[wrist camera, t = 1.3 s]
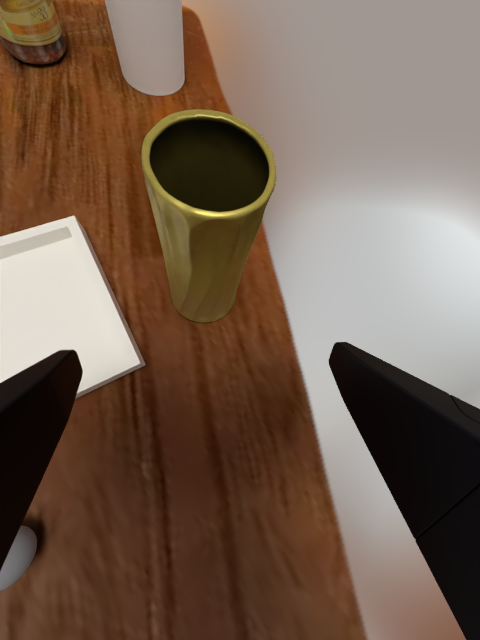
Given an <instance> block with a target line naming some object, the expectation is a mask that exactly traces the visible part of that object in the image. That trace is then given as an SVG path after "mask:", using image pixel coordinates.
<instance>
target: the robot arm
mask: <svg viewBox="0 0 480 640" xmlns="http://www.w3.org/2000/svg"><path fill="white" fill-rule="evenodd" d="M329 365H330V368H331V371H332V373H333V376H334V378H335V381H336V383H337V386H338V388H339V391H340V394H341V396H342V398H343V400H344V403H345V404H346V407H347V409H348V411H349V412H350V414H351V416H352V418H353V420H354V422H355V424H356V426H357V428H358V430H359V432H360V434H361V436H362V438H363V439H364V442H365V443H366V445H367V447H368V449H369V451H370V453H371V455H372V457H373V459H374V461H375V463H376V465H377V467H378V469H379V471H380V473H381V474H382V476H383V478H384V480H385V482H386V484H387V486H388V488H389V490H390V491H391V494H392V496H393V498H394V500H395V502H396V504H397V505H398V508H399V509H400V511H401V513H402V515H403V517H404V519H405V521H406V523H407V525H408V527H409V529H410V531H411V533H412V535H413V537H414V538H415V539H416V543H417V545H418V547H419V549H420V550H421V553H422V554H423V556H424V558H425V560H426V562H427V564H428V566H429V568H430V570H431V572H432V574H433V576H434V578H435V580H436V582H437V584H438V586H439V587H440V589H441V591H442V593H443V595H444V597H445V599H446V601H447V603H448V605H449V607H450V609H451V611H452V613H453V615H454V617H455V619H456V620H457V622H458V624H459V626H460V628H461V630H462V632H463V634H464V636H465V638H466V640H480V409H478V408H476V407H474V406H472V405H470V404H468V403H466V402H464V401H462V400H460V399H458V398H456V397H454V396H452V395H449V394H448V393H446V392H444V391H442V390H440V389H438V388H436V387H434V386H432V385H430V384H428V383H426V382H424V381H422V380H421V379H419V378H417V377H415V376H413V375H411V374H409V373H407V372H405V371H402V370H401V369H399V368H397V367H395V366H392V365H391V364H389V363H387V362H385V361H383V360H381V359H379V358H377V357H375V356H373V355H371V354H369V353H367V352H365V351H363V350H361V349H359V348H357V347H355V346H353V345H351V344H349V343H347V342H337V343H335V344H334V346H333V349H332V352H331V355H330V358H329ZM82 375H83V369H82V366H81V363H80V360H79V357H78V354H77V352H76V351H75V350H59V351H57V352H55V353H53V354H52V355H50V356H48V357H46V358H44V359H43V360H41V361H39V362H37V363H35V364H34V365H32V366H30V367H28V368H26V369H24V370H23V371H21V372H19V373H17V374H15V375H14V376H12V377H10V378H8V379H6V380H5V381H3V382H1V383H0V571H1V569H2V567H3V564H4V562H5V560H6V558H7V555H8V553H9V551H10V549H11V547H12V544H13V542H14V540H15V538H16V535H17V533H18V531H19V529H20V527H21V524H22V522H23V520H24V518H25V515H26V513H27V511H28V509H29V507H30V504H31V502H32V500H33V498H34V495H35V493H36V491H37V489H38V487H39V484H40V482H41V480H42V478H43V475H44V473H45V471H46V469H47V467H48V464H49V462H50V460H51V458H52V455H53V453H54V451H55V449H56V447H57V444H58V442H59V440H60V438H61V435H62V433H63V431H64V429H65V426H66V424H67V422H68V419H69V416H70V413H71V410H72V407H73V404H74V401H75V398H76V395H77V391H78V388H79V385H80V382H81V379H82Z"/></svg>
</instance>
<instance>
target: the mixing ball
mask: <svg viewBox="0 0 480 640" xmlns="http://www.w3.org/2000/svg"><path fill="white" fill-rule="evenodd" d="M36 548H37V538H36V535H35V533H34V532H33V530H32V529H30V528H29V527H26V526H21V527H20V529H19V531H18V533H17V535H16V538H15V540H14V542H13V544H12V547H11V549H10V551H9V553H8V555H7V558H6V560H5V562H4V564H3V567H2V569H1V571H0V591H1V590H3V589H5V588H7V587H9V586H10V585H11V584H13V583H14V582H15V581H17V580H18V579H19V578H20V577H21V576H22V575H23V573H24V572H25V571H26V570H27V568H28V567H29V565H30V564H31V562H32V560H33V558H34V555H35V553H36Z"/></svg>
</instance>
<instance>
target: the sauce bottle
mask: <svg viewBox="0 0 480 640" xmlns="http://www.w3.org/2000/svg"><path fill="white" fill-rule="evenodd" d="M61 31H62V29H61V25H60V22H59V19H58V17H57V14H56V11H55V8H54V5H53V3H52V0H0V39H1V41H2V42H3V44H4V46H5V47H6V48H7V50H8V51H9V53H10V54H11V55H13V56H14V57H16V58H17V59H19V60H21V61H23V62H26V63H32V64H49V63H53V62H57V61H58V60H59V59H60V58H61V57H62V56H63V54H64V53H65V50H66V44H65V41H64V39H63V36H62V32H61Z"/></svg>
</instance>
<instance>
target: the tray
mask: <svg viewBox="0 0 480 640" xmlns="http://www.w3.org/2000/svg"><path fill="white" fill-rule="evenodd" d="M59 350H75V351H76V352H77V354H78V357H79V360H80V363H81V366H82V369H83V375H82V379H81V382H80V385H79V388H78V391H77V395H76V398H78V397H80V396H82V395H85V394H87V393H89V392H91V391H93V390H95V389H97V388H99V387H101V386H103V385H105V384H107V383H110V382H112V381H114V380H116V379H118V378H120V377H122V376H124V375H126V374H128V373H130V372H132V371H135V370H137V369H139V368H141V367H143V366H145V365H146V364H145V362H144V360H143V358H142V355H141V353H140V351H139V349H138V346H137V344H136V342H135V340H134V338H133V335H132V333H131V331H130V329H129V327H128V324H127V322H126V320H125V318H124V315H123V313H122V311H121V309H120V307H119V304H118V302H117V300H116V298H115V296H114V293H113V291H112V289H111V287H110V284H109V282H108V280H107V278H106V276H105V273H104V271H103V269H102V267H101V265H100V262H99V260H98V258H97V256H96V253H95V251H94V249H93V247H92V245H91V242H90V240H89V238H88V236H87V233H86V231H85V229H84V228H83V227H82V225H81V224H80V223H79V221H78V220H77V219H76V217H75V216H71V217H68V218H64V219H61V220H57V221H54V222H50V223H47V224H43V225H40V226H37V227H33V228H30V229H26V230H23V231H19V232H16V233H12V234H9V235H5V236H2V237H0V383H1V382H3V381H5V380H6V379H8V378H10V377H12V376H14V375H15V374H17V373H19V372H21V371H23V370H24V369H26V368H28V367H30V366H32V365H34V364H35V363H37V362H39V361H41V360H43V359H44V358H46V357H48V356H50V355H52V354H53V353H55V352H57V351H59ZM76 398H75V399H76Z"/></svg>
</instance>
